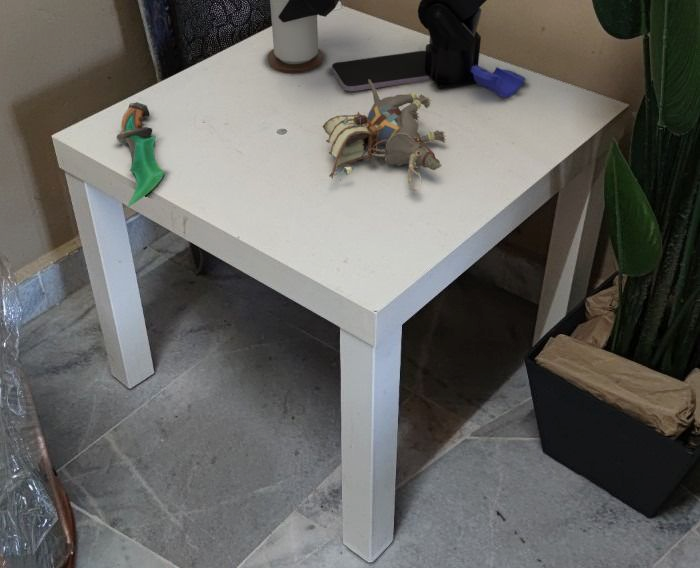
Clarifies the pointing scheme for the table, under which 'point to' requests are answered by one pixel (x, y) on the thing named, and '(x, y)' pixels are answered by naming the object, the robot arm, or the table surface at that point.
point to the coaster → (294, 68)
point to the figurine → (384, 135)
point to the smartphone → (381, 71)
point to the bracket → (498, 80)
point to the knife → (140, 150)
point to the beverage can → (293, 36)
